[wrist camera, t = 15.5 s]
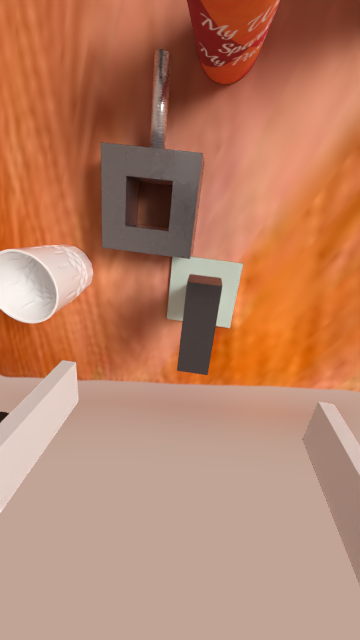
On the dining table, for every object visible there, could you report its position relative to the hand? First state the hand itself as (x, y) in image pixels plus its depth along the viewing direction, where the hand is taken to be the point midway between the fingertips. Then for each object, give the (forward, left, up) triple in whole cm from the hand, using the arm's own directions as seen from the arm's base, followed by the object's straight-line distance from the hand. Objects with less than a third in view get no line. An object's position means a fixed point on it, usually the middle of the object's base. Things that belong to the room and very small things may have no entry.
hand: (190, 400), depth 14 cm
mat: (0, 0, -22) cm, 22 cm away
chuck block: (-14, -7, -22) cm, 27 cm away
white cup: (0, -19, -23) cm, 29 cm away
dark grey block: (0, 0, -22) cm, 22 cm away
